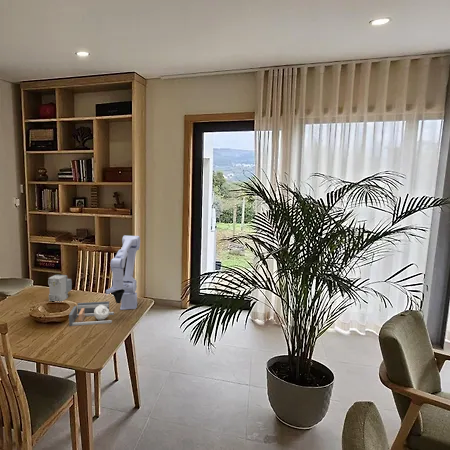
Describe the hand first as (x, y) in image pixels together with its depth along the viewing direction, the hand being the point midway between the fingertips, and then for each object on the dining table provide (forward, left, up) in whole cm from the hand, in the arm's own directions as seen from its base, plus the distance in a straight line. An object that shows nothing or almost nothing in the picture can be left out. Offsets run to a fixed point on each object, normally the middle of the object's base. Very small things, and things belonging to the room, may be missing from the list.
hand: (118, 302), depth 177 cm
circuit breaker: (+38, -37, -9) cm, 54 cm away
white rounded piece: (+9, 0, -9) cm, 13 cm away
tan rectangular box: (+19, 0, -9) cm, 21 cm away
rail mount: (+14, -2, -9) cm, 16 cm away
